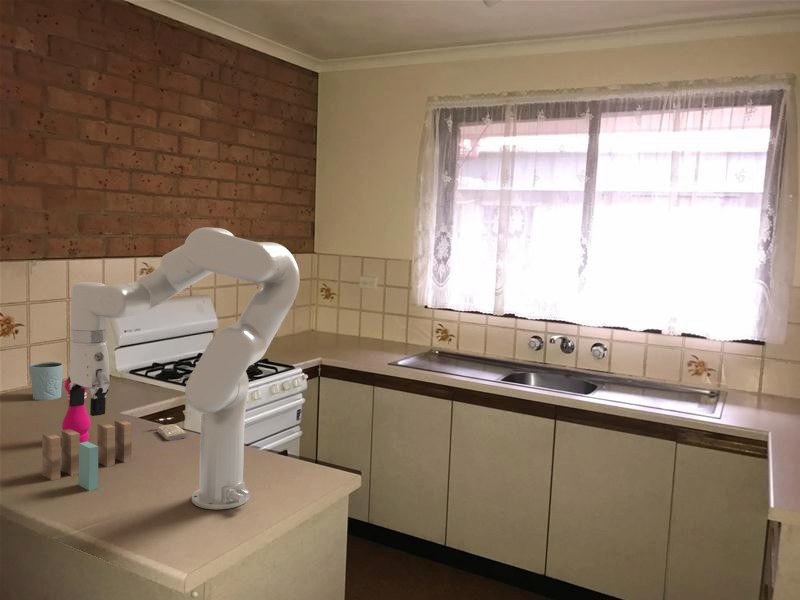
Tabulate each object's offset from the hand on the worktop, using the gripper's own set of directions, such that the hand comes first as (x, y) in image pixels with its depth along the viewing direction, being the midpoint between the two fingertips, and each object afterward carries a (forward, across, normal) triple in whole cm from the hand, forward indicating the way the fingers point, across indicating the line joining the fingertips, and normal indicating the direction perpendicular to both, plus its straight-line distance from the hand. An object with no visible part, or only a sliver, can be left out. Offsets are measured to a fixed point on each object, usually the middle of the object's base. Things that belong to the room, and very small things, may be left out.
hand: (87, 410), depth 153 cm
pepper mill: (+19, +34, -14) cm, 42 cm away
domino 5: (+18, +11, -15) cm, 26 cm away
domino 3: (+18, -1, 0) cm, 18 cm away
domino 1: (+18, +11, +3) cm, 22 cm away
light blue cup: (+19, +85, -28) cm, 92 cm away
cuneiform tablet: (+16, +27, -37) cm, 49 cm away
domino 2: (+18, +11, -2) cm, 22 cm away
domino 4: (+18, +11, -11) cm, 24 cm away
